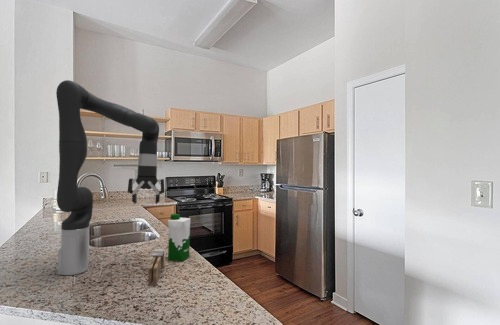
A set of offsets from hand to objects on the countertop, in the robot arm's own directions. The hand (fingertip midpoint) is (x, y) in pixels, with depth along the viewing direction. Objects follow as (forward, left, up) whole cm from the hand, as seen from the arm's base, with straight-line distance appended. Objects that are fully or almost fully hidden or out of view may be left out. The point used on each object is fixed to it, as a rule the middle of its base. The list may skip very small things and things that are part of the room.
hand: (145, 203), depth 108 cm
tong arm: (+6, -11, -26) cm, 29 cm away
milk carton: (+14, +7, -27) cm, 31 cm away
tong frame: (+6, -10, -26) cm, 29 cm away
